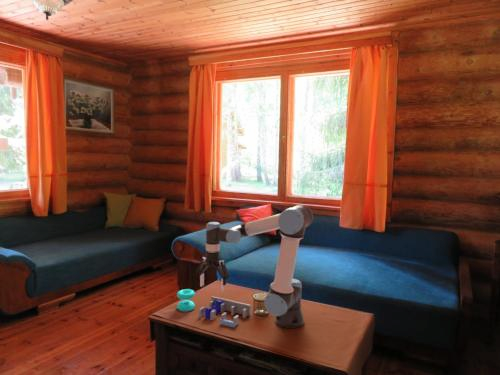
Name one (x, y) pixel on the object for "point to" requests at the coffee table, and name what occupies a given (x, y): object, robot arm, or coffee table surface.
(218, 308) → the blue curved block
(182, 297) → the donuts
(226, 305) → the grey peg rack
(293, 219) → the robot arm
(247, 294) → the coffee table surface
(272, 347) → the coffee table surface
